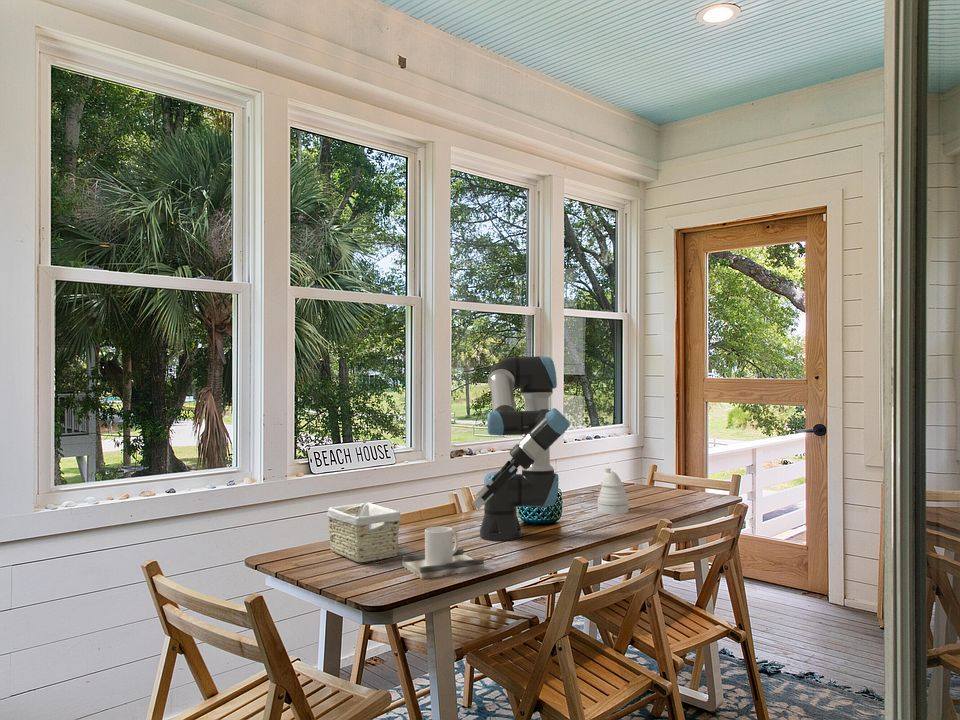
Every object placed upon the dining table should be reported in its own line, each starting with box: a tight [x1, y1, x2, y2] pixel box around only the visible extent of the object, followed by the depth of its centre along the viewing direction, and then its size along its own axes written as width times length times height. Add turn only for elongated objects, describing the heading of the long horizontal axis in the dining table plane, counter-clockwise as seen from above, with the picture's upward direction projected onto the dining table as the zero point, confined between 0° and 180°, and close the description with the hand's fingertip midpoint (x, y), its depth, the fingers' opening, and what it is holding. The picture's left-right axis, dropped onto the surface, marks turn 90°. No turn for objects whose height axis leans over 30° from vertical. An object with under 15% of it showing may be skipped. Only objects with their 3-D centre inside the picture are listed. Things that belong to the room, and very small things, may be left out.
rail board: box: [401, 548, 485, 580], centre depth 209 cm, size 20×16×3 cm
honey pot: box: [597, 467, 629, 515], centre depth 295 cm, size 13×13×18 cm
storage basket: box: [326, 502, 402, 563], centre depth 227 cm, size 24×16×15 cm
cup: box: [424, 526, 460, 566], centre depth 210 cm, size 8×12×10 cm
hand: (477, 501), depth 209 cm, fingers open, 13 cm apart
